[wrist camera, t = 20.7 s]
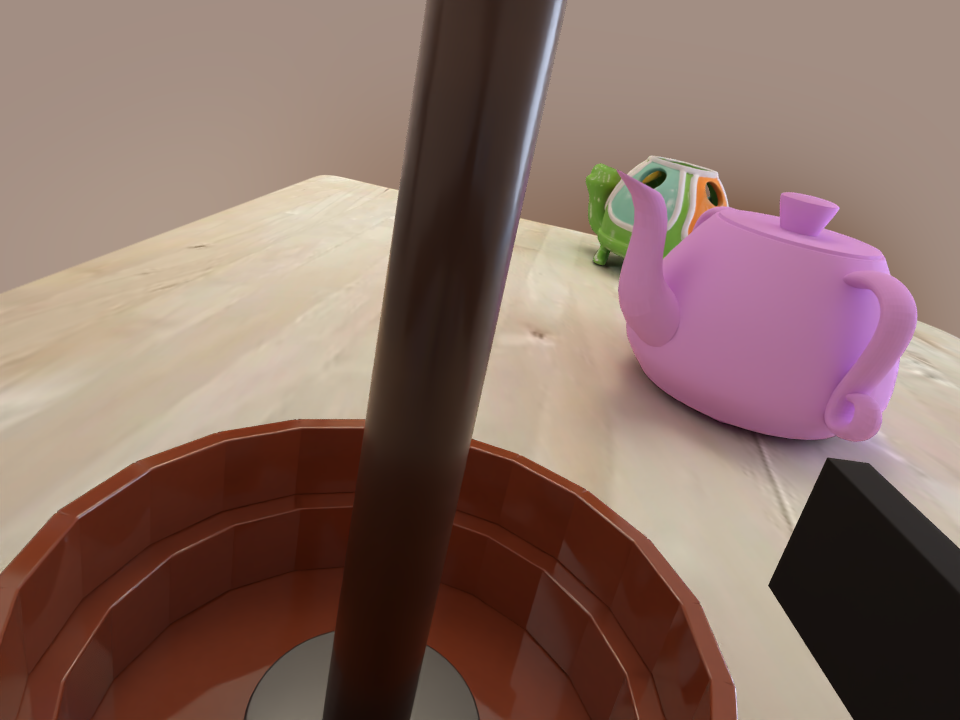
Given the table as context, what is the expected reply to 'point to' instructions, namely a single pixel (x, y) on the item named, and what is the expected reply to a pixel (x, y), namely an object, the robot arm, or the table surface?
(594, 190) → the turtle holder
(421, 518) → the peg on round base
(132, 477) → the bowl
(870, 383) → the teapot
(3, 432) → the table surface
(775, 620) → the table surface
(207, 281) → the table surface
